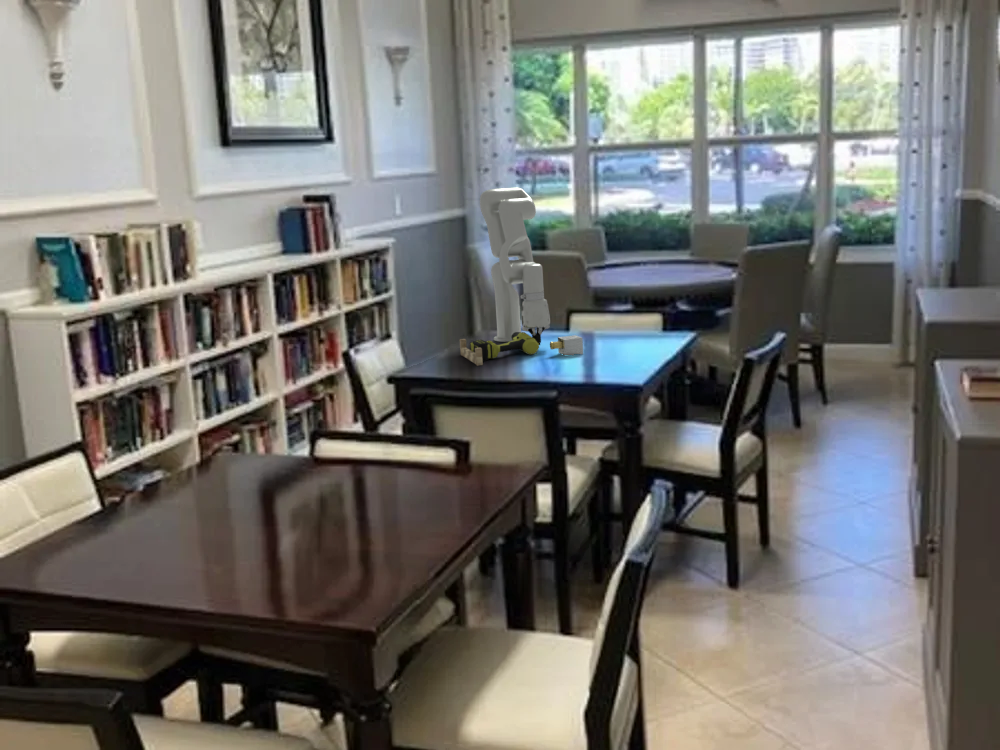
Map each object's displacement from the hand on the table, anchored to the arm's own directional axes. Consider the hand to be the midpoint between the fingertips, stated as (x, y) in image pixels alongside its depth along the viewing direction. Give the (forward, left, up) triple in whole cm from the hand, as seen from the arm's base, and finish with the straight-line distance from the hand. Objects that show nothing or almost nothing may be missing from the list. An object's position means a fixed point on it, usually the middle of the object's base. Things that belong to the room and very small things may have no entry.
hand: (536, 344), depth 396 cm
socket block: (+17, +7, -2) cm, 18 cm away
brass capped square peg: (+17, +5, +1) cm, 17 cm away
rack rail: (+7, -28, -2) cm, 28 cm away
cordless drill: (0, -14, -2) cm, 14 cm away
